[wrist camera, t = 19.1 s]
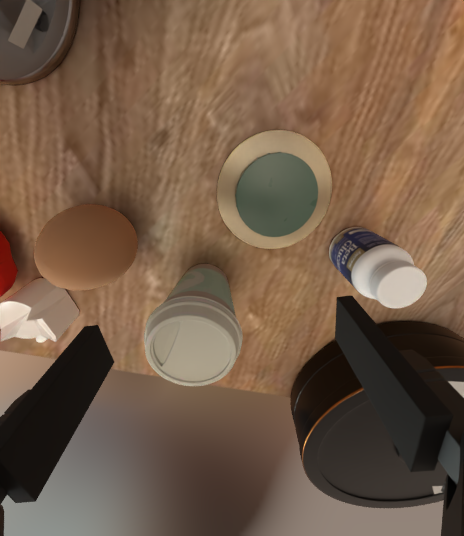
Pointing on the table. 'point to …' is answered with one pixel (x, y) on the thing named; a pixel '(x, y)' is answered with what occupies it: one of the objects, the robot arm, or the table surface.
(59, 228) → the egg
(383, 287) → the pill bottle
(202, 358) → the coffee cup
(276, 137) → the coaster
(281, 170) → the lid
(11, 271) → the tomato
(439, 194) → the table surface
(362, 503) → the container
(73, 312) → the jagged white extruded chunk
